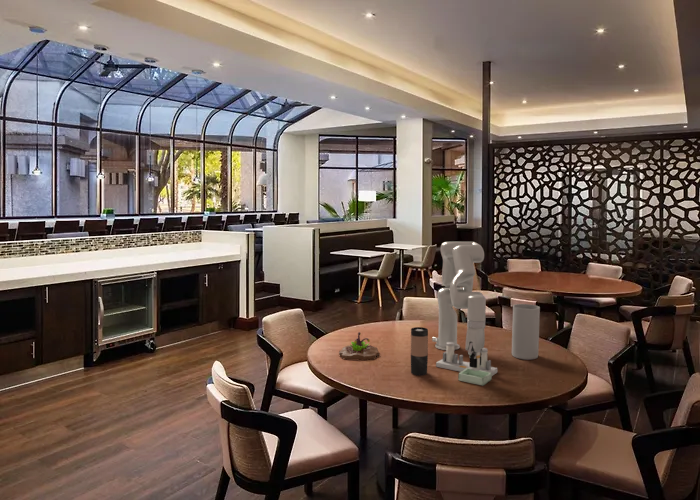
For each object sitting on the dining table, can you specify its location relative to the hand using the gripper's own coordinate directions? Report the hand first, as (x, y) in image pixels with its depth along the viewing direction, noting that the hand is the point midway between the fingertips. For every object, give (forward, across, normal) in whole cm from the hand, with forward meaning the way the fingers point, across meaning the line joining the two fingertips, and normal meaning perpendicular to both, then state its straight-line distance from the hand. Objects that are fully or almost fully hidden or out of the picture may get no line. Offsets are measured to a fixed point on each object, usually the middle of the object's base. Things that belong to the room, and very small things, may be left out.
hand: (475, 365), depth 227 cm
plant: (+7, -2, -63) cm, 63 cm away
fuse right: (+4, -11, -1) cm, 12 cm away
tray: (+6, 0, 0) cm, 6 cm away
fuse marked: (+2, 0, 0) cm, 2 cm away
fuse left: (+4, -11, -17) cm, 21 cm away
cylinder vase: (+6, -47, +6) cm, 48 cm away
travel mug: (+7, +6, -24) cm, 26 cm away
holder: (+6, -11, -9) cm, 16 cm away
